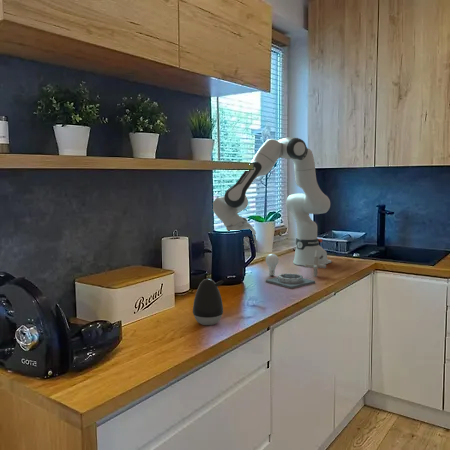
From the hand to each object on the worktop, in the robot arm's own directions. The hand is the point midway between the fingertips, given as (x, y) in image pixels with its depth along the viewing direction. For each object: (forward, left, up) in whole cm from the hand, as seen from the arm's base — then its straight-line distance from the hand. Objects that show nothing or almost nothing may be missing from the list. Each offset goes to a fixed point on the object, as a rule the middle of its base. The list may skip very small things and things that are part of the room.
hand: (252, 244), depth 225 cm
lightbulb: (-4, +10, -15) cm, 18 cm away
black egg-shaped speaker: (+62, +46, -15) cm, 79 cm away
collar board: (-1, +25, -15) cm, 29 cm away
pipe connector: (-20, +24, -15) cm, 35 cm away
